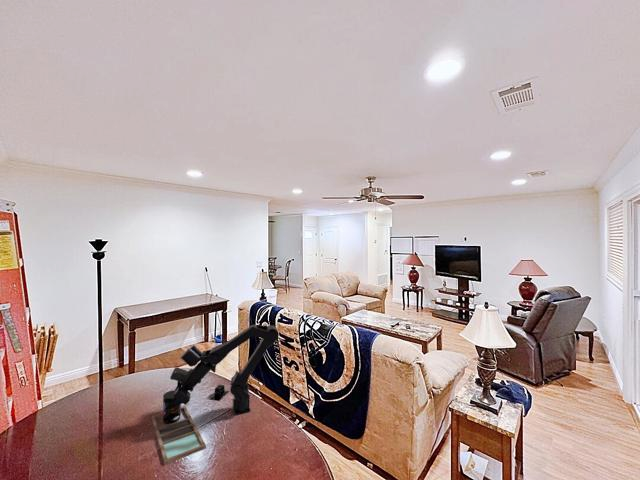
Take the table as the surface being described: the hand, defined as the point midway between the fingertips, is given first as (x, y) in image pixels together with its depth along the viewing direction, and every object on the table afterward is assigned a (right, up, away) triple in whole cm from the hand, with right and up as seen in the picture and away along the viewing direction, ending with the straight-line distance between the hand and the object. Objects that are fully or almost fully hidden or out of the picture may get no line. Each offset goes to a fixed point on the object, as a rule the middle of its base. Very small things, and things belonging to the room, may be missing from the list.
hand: (168, 404), depth 116 cm
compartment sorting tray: (+7, -6, -8) cm, 12 cm away
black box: (+14, -8, +20) cm, 26 cm away
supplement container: (+1, -7, 0) cm, 7 cm away
